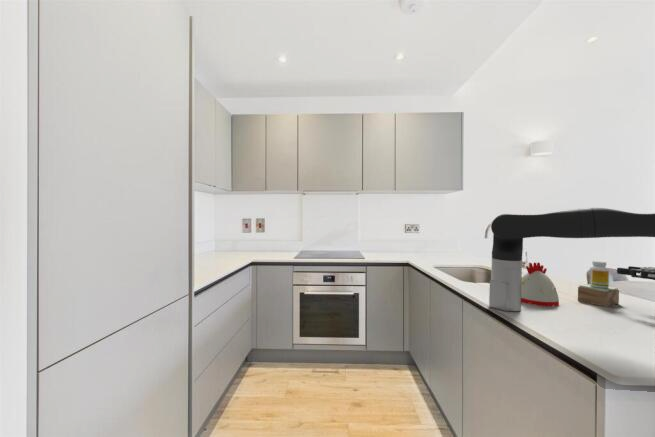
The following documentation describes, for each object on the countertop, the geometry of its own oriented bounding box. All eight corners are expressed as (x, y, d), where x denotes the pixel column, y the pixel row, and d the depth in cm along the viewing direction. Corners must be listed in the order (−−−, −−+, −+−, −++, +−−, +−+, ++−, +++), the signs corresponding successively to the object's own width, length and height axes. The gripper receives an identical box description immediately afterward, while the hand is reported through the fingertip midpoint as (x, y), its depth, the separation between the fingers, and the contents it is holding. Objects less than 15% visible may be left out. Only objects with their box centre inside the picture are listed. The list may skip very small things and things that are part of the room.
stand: (607, 306, 109) (607, 290, 109) (577, 300, 117) (578, 285, 117) (618, 304, 112) (619, 288, 112) (589, 298, 121) (589, 283, 121)
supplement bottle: (612, 288, 111) (612, 262, 111) (596, 287, 112) (596, 262, 112) (601, 285, 117) (602, 261, 117) (586, 284, 118) (586, 260, 118)
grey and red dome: (506, 296, 121) (507, 259, 121) (537, 296, 122) (538, 260, 122) (534, 306, 107) (534, 265, 107) (568, 306, 109) (569, 265, 108)
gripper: (699, 264, 97) (631, 258, 111) (682, 267, 91) (613, 260, 105) (699, 287, 97) (631, 278, 111) (682, 292, 91) (613, 281, 105)
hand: (623, 269), depth 108 cm, fingers open, 8 cm apart
